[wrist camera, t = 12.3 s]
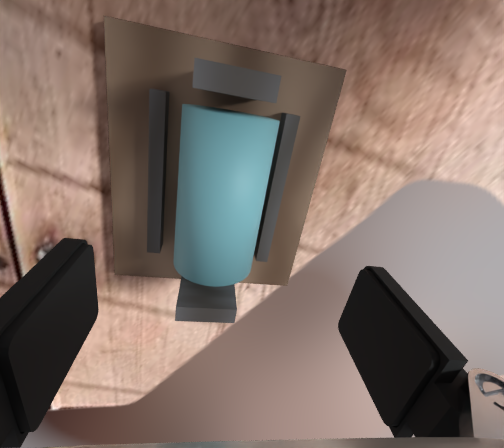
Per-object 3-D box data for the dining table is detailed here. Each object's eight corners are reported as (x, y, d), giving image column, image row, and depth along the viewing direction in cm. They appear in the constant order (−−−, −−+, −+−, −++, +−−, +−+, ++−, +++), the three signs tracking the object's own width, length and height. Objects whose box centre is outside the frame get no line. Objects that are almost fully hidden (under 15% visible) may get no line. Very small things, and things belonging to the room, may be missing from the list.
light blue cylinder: (182, 101, 19) (182, 107, 14) (265, 115, 20) (293, 126, 15) (174, 241, 23) (172, 286, 18) (243, 244, 25) (259, 286, 20)
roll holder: (339, 71, 20) (409, 58, 13) (284, 278, 28) (308, 343, 21) (110, 20, 18) (35, -33, 10) (118, 266, 25) (79, 337, 18)
